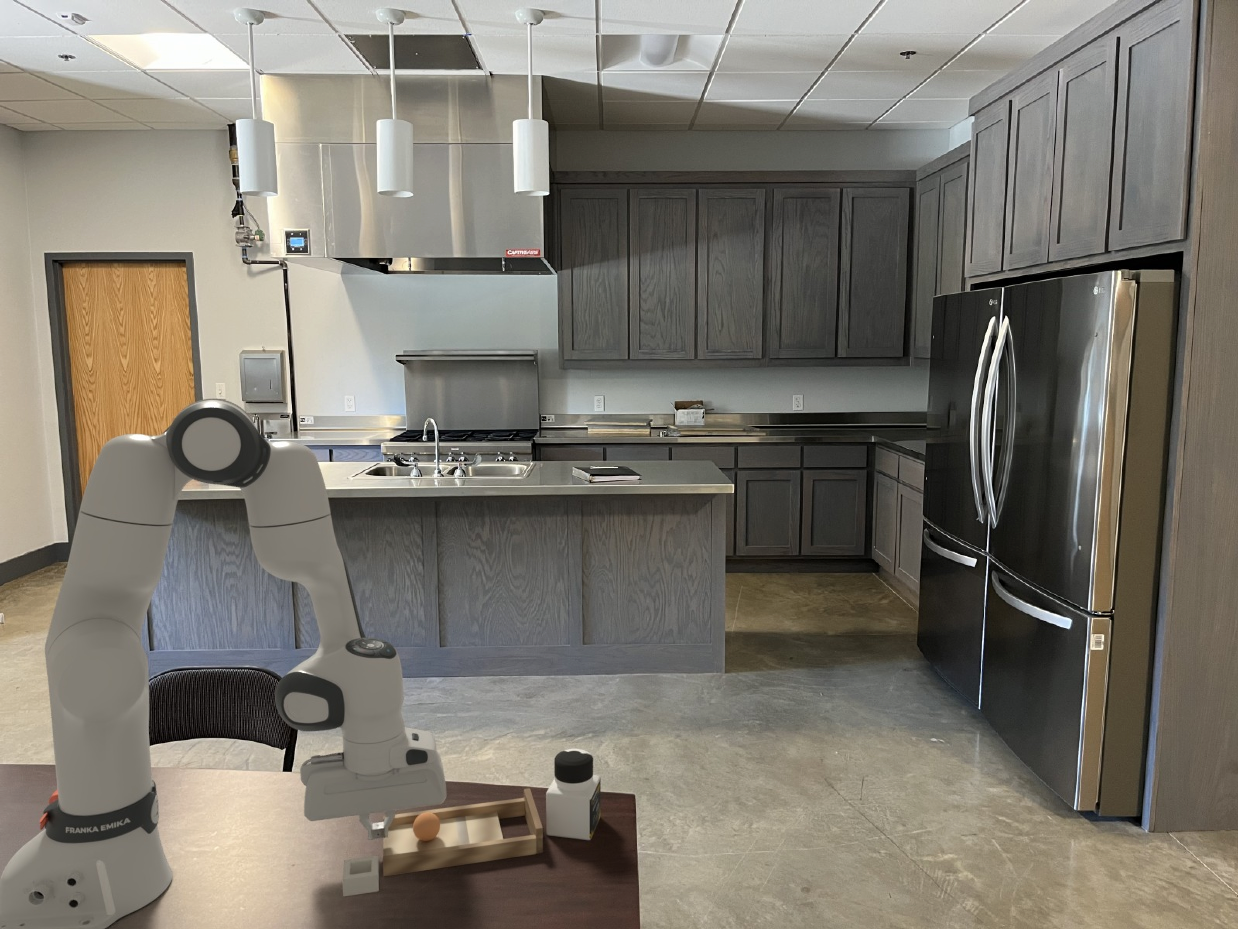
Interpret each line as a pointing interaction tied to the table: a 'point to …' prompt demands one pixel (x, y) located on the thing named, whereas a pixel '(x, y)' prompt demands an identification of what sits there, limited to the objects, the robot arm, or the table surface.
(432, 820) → the ball
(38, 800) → the table surface
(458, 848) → the lane
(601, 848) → the table surface
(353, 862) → the square ring
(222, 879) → the table surface
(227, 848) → the table surface
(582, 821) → the medicine bottle
